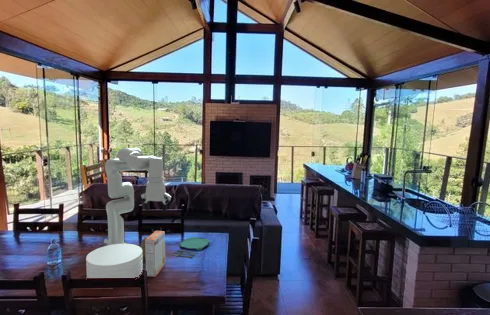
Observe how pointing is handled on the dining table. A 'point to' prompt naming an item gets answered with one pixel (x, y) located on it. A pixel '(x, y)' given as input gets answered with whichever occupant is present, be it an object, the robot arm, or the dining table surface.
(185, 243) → the cutlery set
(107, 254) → the plate stack
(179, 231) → the dining table surface
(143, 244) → the walnut pepper mill
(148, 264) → the cracker box
